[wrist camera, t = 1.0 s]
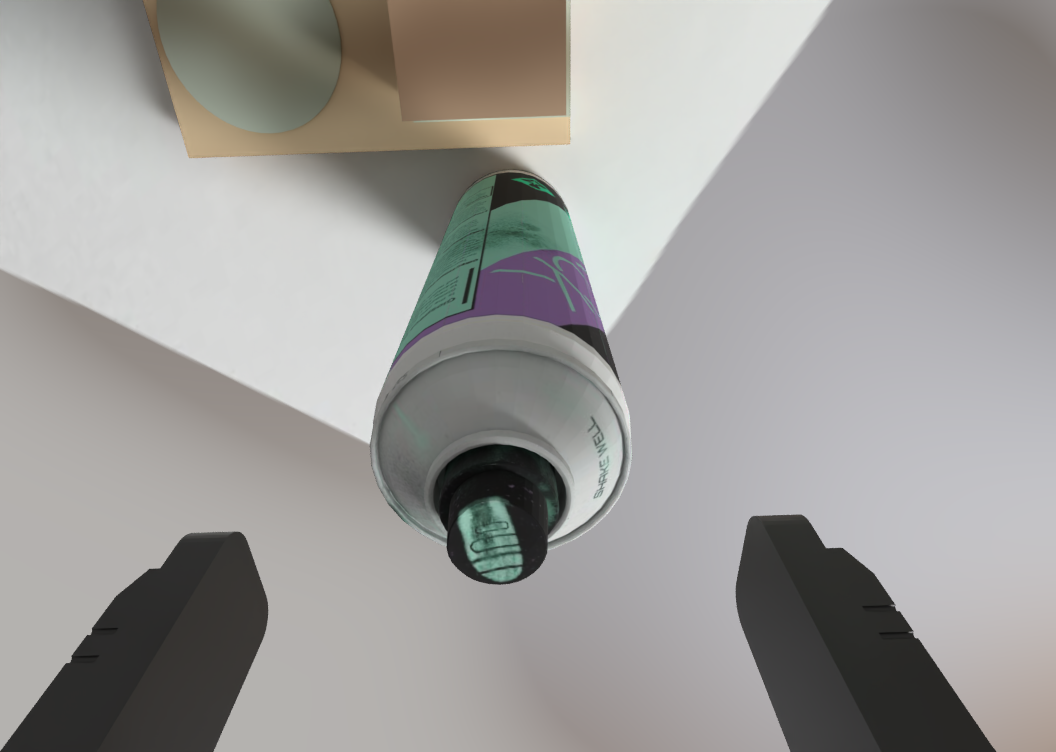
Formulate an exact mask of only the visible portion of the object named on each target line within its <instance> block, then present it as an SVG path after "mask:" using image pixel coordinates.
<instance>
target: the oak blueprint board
mask: <svg viewBox="0 0 1056 752" xmlns="http://www.w3.org/2000/svg"><path fill="white" fill-rule="evenodd" d="M570 2H571V0H566V115H564V116H537V117H509V118H482V119H455V120H427V121H402V116H401V108H400V100H399V92H398V84H397V76H396V68H395V60H394V52H393V44H392V36H391V28H390V20H389V12H388V4H387V0H143V3H144V6H145V10H146V13H147V16H148V20H149V23H150V27H151V30H152V34H153V37H154V40H155V44H156V47H157V51H158V54H159V57H160V61H161V64H162V68H163V71H164V75H165V78H166V81H167V85H168V88H169V92H170V95H171V98H172V102H173V105H174V109H175V112H176V116H177V119H178V122H179V126H180V129H181V133H182V136H183V140H184V143H185V146H186V150H187V153H188V157H189V158H205V157H233V156H260V155H288V154H315V153H343V152H371V151H398V150H426V149H454V148H481V147H509V146H536V145H564V144H570Z"/></svg>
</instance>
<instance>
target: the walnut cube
mask: <svg viewBox="0 0 1056 752" xmlns="http://www.w3.org/2000/svg"><path fill="white" fill-rule="evenodd" d="M387 4H388V12H389V20H390V28H391V36H392V44H393V52H394V60H395V68H396V76H397V84H398V92H399V100H400V108H401V116H402V121H427V120H455V119H482V118H509V117H537V116H564V115H566V0H387Z"/></svg>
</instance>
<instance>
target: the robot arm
mask: <svg viewBox="0 0 1056 752" xmlns="http://www.w3.org/2000/svg"><path fill="white" fill-rule="evenodd" d="M736 603H737V610H738V614H739V618H740V623H741V625H742V628H743V631H744V633H745V636H746V639H747V641H748V644H749V646H750V649H751V651H752V654H753V657H754V659H755V662H756V664H757V667H758V669H759V672H760V674H761V677H762V680H763V682H764V685H765V687H766V690H767V692H768V695H769V698H770V700H771V703H772V705H773V708H774V710H775V713H776V716H777V718H778V721H779V723H780V726H781V728H782V731H783V734H784V736H785V739H786V741H787V744H788V746H789V749H790V752H996V751H995V749H994V748H993V747H992V745H991V744H990V743H989V741H988V740H987V738H986V737H985V735H984V734H983V732H982V731H981V729H980V728H979V726H978V725H977V724H976V722H975V721H974V719H973V718H972V716H971V715H970V713H969V712H968V710H967V709H966V708H965V706H964V705H963V703H962V702H961V700H960V699H959V697H958V696H957V694H956V693H955V691H954V690H953V688H952V687H951V686H950V684H949V683H948V681H947V680H946V678H945V677H944V675H943V674H942V672H941V671H940V669H939V668H938V667H937V665H936V664H935V662H934V661H933V659H932V658H931V656H930V655H929V654H928V652H927V651H926V649H925V648H924V646H923V645H922V643H921V642H920V640H919V639H918V638H917V639H915V637H914V635H913V630H912V629H911V627H910V626H909V624H908V623H907V621H906V620H905V618H904V617H903V615H902V614H901V612H900V611H896V609H895V604H894V602H893V601H892V600H891V598H890V596H889V595H888V593H887V592H886V591H885V589H884V588H883V586H882V585H881V583H880V582H879V580H878V579H877V577H876V576H875V575H874V573H873V572H871V571H870V570H869V569H868V568H866V567H865V566H864V565H863V564H861V563H860V562H859V561H857V559H855V558H854V557H853V556H852V555H850V554H849V553H848V552H847V551H845V550H844V549H843V548H825V546H824V544H823V543H822V541H821V540H820V538H819V536H818V535H817V533H816V531H815V530H814V528H813V527H812V525H811V523H810V522H809V521H808V520H807V518H805V517H804V516H803V515H773V516H753V517H751V518H750V520H749V522H748V525H747V529H746V535H745V540H744V545H743V551H742V556H741V561H740V566H739V571H738V577H737V582H736ZM267 620H268V602H267V598H266V594H265V591H264V588H263V585H262V582H261V580H260V577H259V574H258V571H257V568H256V565H255V562H254V559H253V557H252V554H251V551H250V548H249V545H248V542H247V540H246V538H245V536H244V535H243V534H242V533H240V532H212V533H190V534H187V535H186V536H184V537H183V538H182V539H181V540H180V541H179V543H178V544H177V545H176V547H175V548H174V550H173V551H172V552H171V554H170V555H169V557H168V558H167V560H166V561H165V563H164V564H163V565H162V567H161V568H160V569H149V570H148V571H147V572H146V573H144V574H143V575H142V576H140V577H139V578H138V579H137V580H135V581H134V582H133V583H132V584H131V585H129V586H128V587H127V588H126V589H124V590H123V591H122V592H121V593H120V594H118V595H117V596H116V597H115V598H114V600H113V601H112V603H111V604H110V605H109V606H108V608H107V609H106V610H105V612H104V613H103V615H102V616H101V617H100V618H99V620H98V621H97V623H96V624H95V625H94V627H93V628H92V633H91V635H87V636H86V637H85V639H84V640H83V641H82V643H81V644H80V645H79V647H78V648H77V649H76V651H75V652H74V653H73V655H72V660H71V662H70V663H66V664H65V665H64V667H63V668H62V670H61V671H60V672H59V673H58V675H57V676H56V677H55V679H54V680H53V681H52V683H51V684H50V686H49V687H48V688H47V689H46V691H45V692H44V693H43V695H42V696H41V698H40V699H39V700H38V702H37V703H36V704H35V705H34V707H33V708H32V710H31V711H30V712H29V714H28V715H27V716H26V718H25V719H24V720H23V722H22V723H21V724H20V726H19V727H18V728H17V730H16V731H15V732H14V734H13V735H12V736H11V738H10V739H9V740H8V742H7V743H6V744H5V746H4V747H3V749H2V750H1V751H0V752H213V751H214V749H215V747H216V744H217V742H218V740H219V738H220V735H221V733H222V731H223V728H224V726H225V724H226V722H227V719H228V717H229V715H230V713H231V710H232V708H233V706H234V704H235V701H236V699H237V697H238V694H239V692H240V690H241V688H242V685H243V683H244V681H245V679H246V676H247V674H248V671H249V669H250V667H251V665H252V663H253V660H254V658H255V656H256V654H257V651H258V649H259V647H260V644H261V642H262V640H263V637H264V634H265V631H266V626H267Z"/></svg>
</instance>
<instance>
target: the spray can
mask: <svg viewBox="0 0 1056 752" xmlns="http://www.w3.org/2000/svg"><path fill="white" fill-rule="evenodd" d="M370 452H371V453H370V454H371V466H372V469H373V473H374V476H375V479H376V482H377V485H378V487H379V489H380V491H381V492H382V494H383V496H384V497H385V499H386V501H387V503H388V504H389V505H390V506H391V508H392V509H393V510H394V511H395V512H396V513H397V514H398V516H399V517H400V518H401V519H402V520H403V521H404V522H406V523H407V524H408V525H410V526H411V527H412V528H414V529H415V530H416V531H417V532H419V533H420V534H422V535H423V536H425V537H427V538H429V539H431V540H433V541H435V542H437V543H439V544H440V545H443V546H446V547H447V551H448V555H449V557H450V559H451V561H452V563H453V564H454V565H455V566H456V567H457V569H459V570H460V571H461V572H462V573H464V574H465V575H466V576H468V577H470V578H471V579H473V580H476V581H479V582H483V583H488V584H499V585H501V584H510V583H513V582H518V581H520V580H522V579H524V578H527V577H528V576H530V575H531V574H533V573H534V572H535V571H536V570H537V569H538V568H539V567H540V566H541V564H542V563H543V561H544V560H545V557H546V554H547V550H551V549H554V548H556V547H559V546H561V545H563V544H566V543H568V542H570V541H573V540H574V539H576V538H578V537H579V536H581V535H582V534H584V533H585V532H587V531H589V530H590V529H592V528H593V527H594V526H595V525H596V524H597V523H598V522H599V521H600V520H601V519H603V518H604V517H605V516H606V515H607V514H608V513H609V511H610V510H611V508H612V507H613V506H614V504H615V503H616V502H617V500H618V499H619V497H620V495H621V493H622V491H623V489H624V486H625V484H626V482H627V479H628V476H629V471H630V466H631V461H632V449H631V431H630V414H629V411H628V407H627V404H626V401H625V398H624V394H623V390H622V387H621V384H620V381H619V377H618V374H617V371H616V367H615V364H614V361H613V358H612V354H611V351H610V348H609V344H608V342H607V338H606V335H605V331H604V328H603V325H602V321H601V318H600V315H599V312H598V308H597V305H596V302H595V298H594V295H593V292H592V288H591V285H590V282H589V279H588V275H587V272H586V269H585V265H584V262H583V259H582V256H581V252H580V249H579V246H578V242H577V239H576V236H575V233H574V229H573V226H572V223H571V219H570V216H569V213H568V210H567V207H566V205H565V204H564V202H563V200H562V198H561V196H560V195H559V194H558V193H557V191H556V190H555V189H554V188H553V187H552V186H551V185H550V184H549V183H547V182H546V181H545V180H544V179H542V178H540V177H538V176H536V175H534V174H531V173H528V172H524V171H519V170H504V171H497V172H494V173H491V174H489V175H486V176H484V177H482V178H481V179H479V180H478V181H476V182H475V183H474V184H473V185H472V186H470V187H469V188H468V189H467V190H466V192H465V193H464V195H463V196H462V197H461V199H460V200H459V202H458V204H457V207H456V209H455V211H454V214H453V216H452V218H451V221H450V223H449V226H448V228H447V231H446V233H445V236H444V238H443V241H442V243H441V245H440V248H439V250H438V253H437V255H436V258H435V260H434V263H433V265H432V267H431V270H430V272H429V275H428V277H427V280H426V282H425V285H424V287H423V289H422V292H421V294H420V297H419V299H418V302H417V304H416V307H415V309H414V311H413V314H412V316H411V319H410V321H409V324H408V326H407V329H406V331H405V334H404V336H403V338H402V341H401V343H400V346H399V348H398V351H397V353H396V356H395V358H394V360H393V363H392V365H391V368H390V370H389V373H388V375H387V378H386V380H385V382H384V385H383V387H382V390H381V392H380V395H379V397H378V400H377V403H376V409H375V415H374V421H373V430H372V436H371V442H370Z"/></svg>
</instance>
